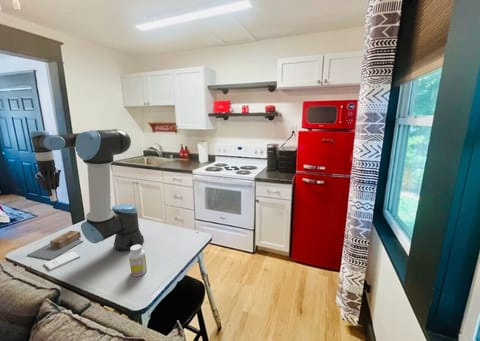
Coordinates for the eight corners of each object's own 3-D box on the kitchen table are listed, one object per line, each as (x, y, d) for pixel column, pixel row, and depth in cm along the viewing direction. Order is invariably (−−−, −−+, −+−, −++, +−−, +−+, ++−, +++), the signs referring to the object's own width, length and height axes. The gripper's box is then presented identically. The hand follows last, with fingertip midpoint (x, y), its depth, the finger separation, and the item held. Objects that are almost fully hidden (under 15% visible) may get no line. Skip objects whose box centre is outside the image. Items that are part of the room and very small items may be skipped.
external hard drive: (80, 258, 118) (50, 271, 108) (73, 253, 122) (44, 265, 112) (79, 255, 117) (49, 268, 107) (72, 250, 122) (43, 262, 112)
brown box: (61, 248, 125) (81, 237, 136) (59, 242, 124) (79, 231, 135) (51, 247, 126) (71, 235, 138) (49, 241, 125) (70, 230, 137)
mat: (83, 241, 132) (83, 240, 132) (51, 260, 115) (50, 259, 115) (61, 238, 136) (61, 237, 136) (27, 255, 119) (27, 254, 119)
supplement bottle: (139, 266, 110) (136, 241, 107) (150, 269, 108) (147, 244, 105) (127, 274, 104) (124, 249, 101) (139, 278, 102) (135, 252, 99)
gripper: (52, 157, 132) (60, 196, 137) (26, 161, 120) (36, 204, 125) (62, 157, 130) (69, 197, 135) (37, 162, 118) (46, 205, 123)
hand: (53, 200), depth 130 cm, fingers closed
